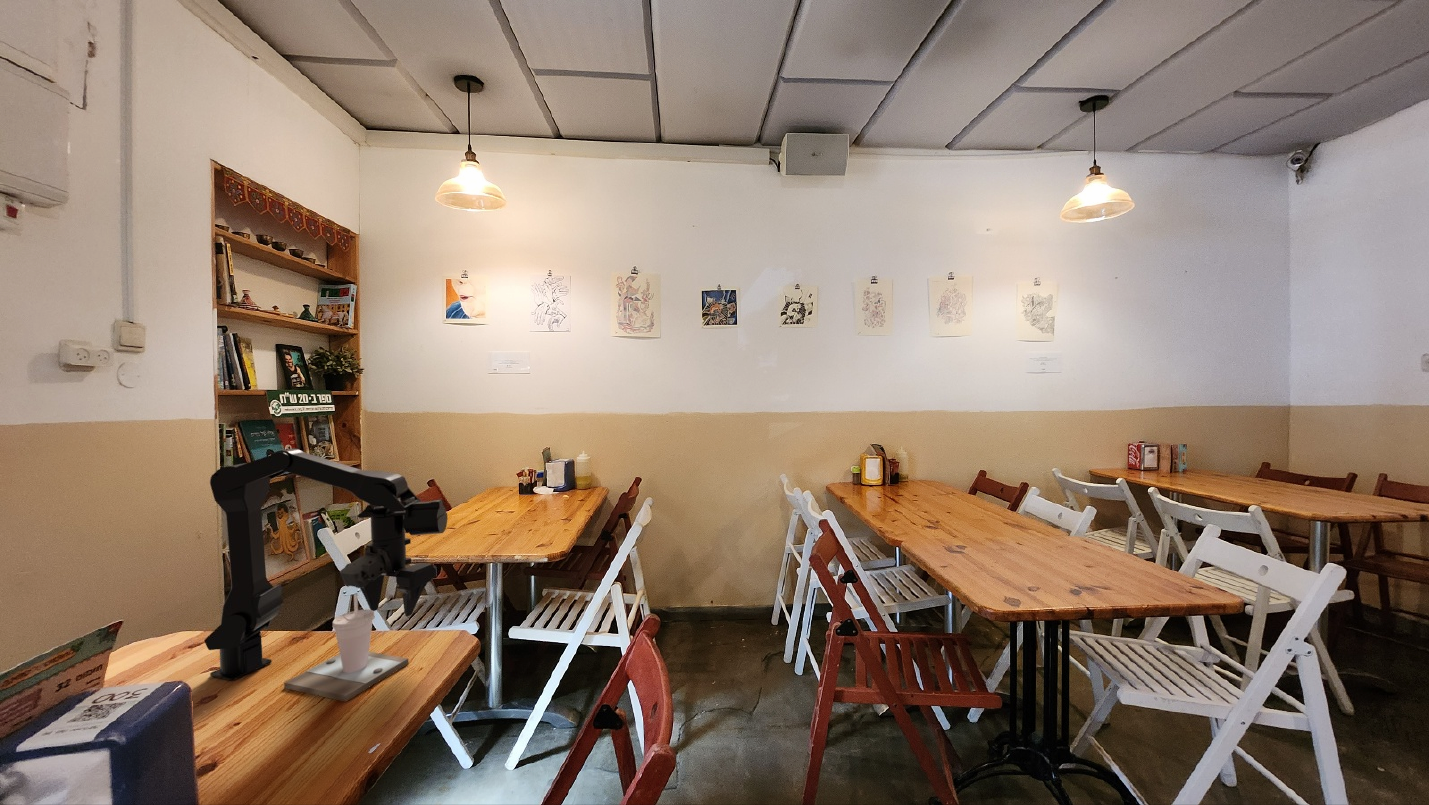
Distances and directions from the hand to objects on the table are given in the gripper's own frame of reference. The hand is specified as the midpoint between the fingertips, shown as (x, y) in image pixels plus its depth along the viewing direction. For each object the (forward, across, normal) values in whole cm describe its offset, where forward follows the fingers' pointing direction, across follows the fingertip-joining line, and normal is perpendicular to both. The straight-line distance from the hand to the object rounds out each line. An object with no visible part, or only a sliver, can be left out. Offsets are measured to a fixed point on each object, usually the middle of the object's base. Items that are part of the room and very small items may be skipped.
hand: (391, 613), depth 98 cm
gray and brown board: (+8, -1, -8) cm, 12 cm away
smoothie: (+7, 0, -7) cm, 10 cm away
